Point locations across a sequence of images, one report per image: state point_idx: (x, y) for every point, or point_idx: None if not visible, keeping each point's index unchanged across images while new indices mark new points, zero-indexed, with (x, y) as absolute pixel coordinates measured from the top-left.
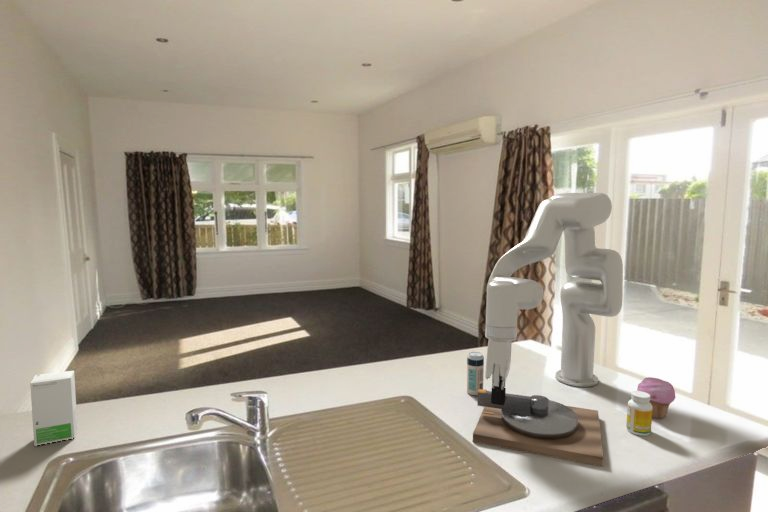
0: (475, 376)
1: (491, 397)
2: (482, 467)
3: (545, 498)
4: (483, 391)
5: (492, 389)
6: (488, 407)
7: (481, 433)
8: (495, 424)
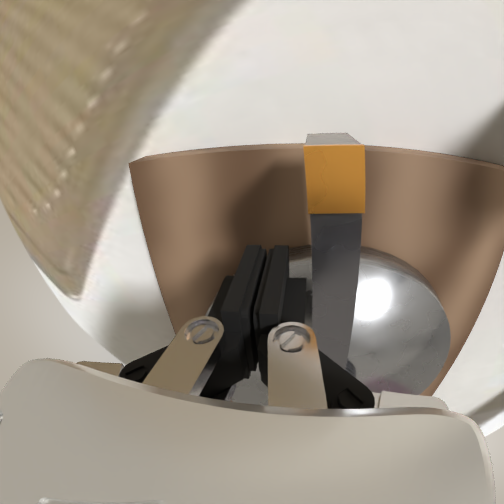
0: None
1: (239, 263)
2: (70, 217)
3: (80, 318)
4: (325, 193)
5: (223, 308)
6: (404, 174)
7: (145, 191)
8: (238, 226)
